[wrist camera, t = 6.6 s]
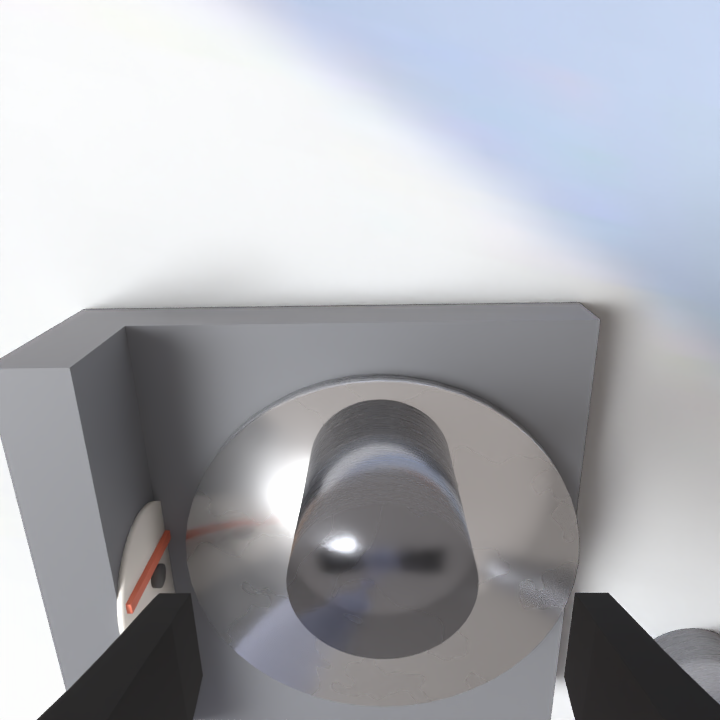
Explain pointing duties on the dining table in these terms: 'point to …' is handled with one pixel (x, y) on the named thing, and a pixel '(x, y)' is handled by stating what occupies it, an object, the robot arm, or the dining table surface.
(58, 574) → the scale
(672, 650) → the cylinder
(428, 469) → the cylinder
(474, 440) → the pan
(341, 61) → the dining table surface
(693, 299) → the dining table surface
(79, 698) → the robot arm
